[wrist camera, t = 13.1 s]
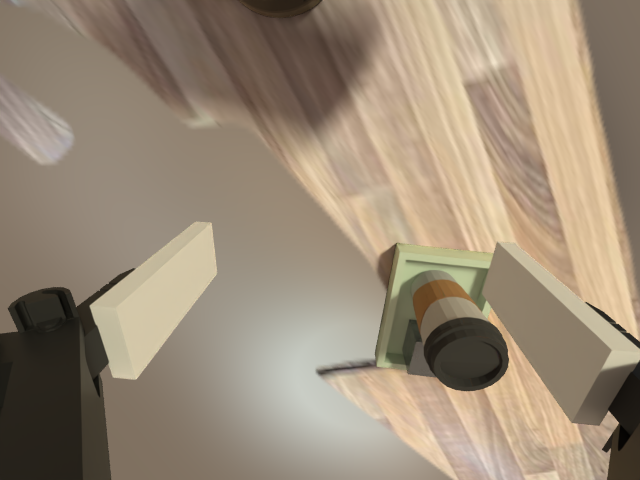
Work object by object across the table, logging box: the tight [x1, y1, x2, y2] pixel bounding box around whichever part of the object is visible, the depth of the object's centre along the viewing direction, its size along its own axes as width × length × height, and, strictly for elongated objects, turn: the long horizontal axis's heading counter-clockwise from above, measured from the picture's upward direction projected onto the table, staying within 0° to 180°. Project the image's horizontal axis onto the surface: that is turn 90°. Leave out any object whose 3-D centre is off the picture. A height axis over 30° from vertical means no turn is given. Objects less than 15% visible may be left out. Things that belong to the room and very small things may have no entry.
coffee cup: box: [411, 270, 509, 391], centre depth 38 cm, size 8×8×15 cm
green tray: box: [375, 243, 493, 370], centre depth 46 cm, size 20×14×3 cm
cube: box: [402, 319, 436, 377], centre depth 46 cm, size 6×6×5 cm
